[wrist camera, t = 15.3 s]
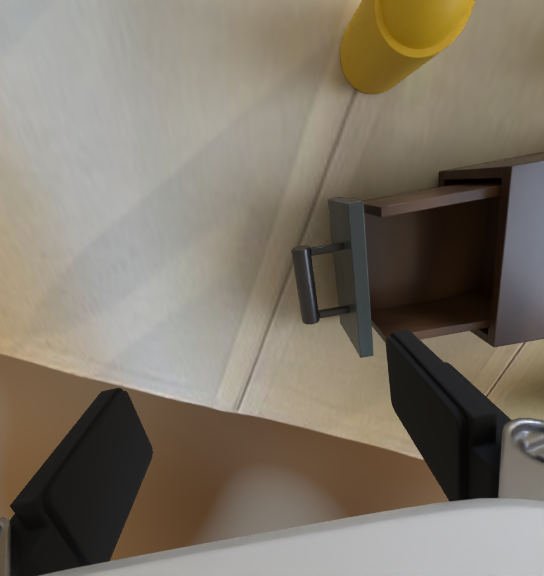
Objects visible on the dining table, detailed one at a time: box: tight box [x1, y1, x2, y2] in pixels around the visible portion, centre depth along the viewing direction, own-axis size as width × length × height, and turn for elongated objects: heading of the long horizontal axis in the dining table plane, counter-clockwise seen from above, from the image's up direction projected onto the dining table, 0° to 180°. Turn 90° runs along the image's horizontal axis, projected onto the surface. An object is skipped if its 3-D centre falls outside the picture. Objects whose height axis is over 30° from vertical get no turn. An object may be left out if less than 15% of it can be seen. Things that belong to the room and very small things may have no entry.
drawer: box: [291, 178, 502, 358], centre depth 27 cm, size 20×13×7 cm
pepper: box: [340, 0, 475, 94], centre depth 19 cm, size 6×6×11 cm
